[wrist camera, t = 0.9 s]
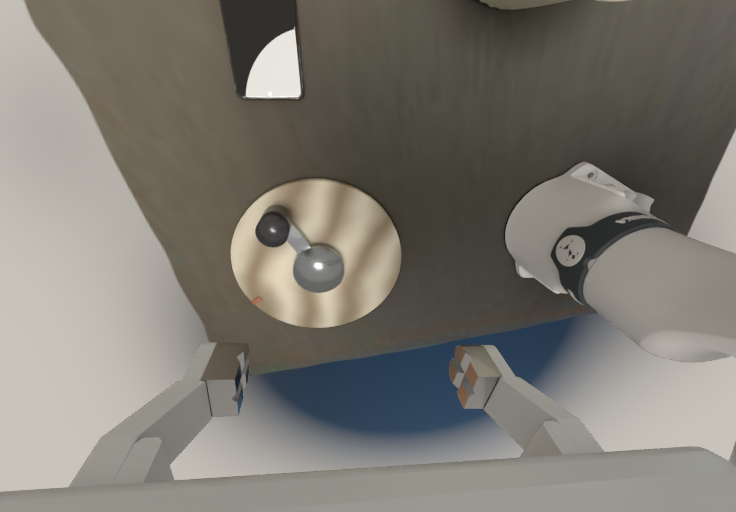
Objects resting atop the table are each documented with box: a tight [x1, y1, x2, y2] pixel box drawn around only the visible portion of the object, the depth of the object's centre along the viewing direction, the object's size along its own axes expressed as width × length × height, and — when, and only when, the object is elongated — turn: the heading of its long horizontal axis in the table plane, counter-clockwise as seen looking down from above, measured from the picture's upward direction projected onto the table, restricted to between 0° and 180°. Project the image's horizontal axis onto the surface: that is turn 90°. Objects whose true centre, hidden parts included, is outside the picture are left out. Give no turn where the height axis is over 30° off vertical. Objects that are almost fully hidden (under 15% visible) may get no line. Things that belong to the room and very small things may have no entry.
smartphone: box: [219, 0, 304, 100], centre depth 30 cm, size 7×1×16 cm
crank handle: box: [255, 205, 344, 293], centre depth 38 cm, size 14×7×6 cm, turn 30°
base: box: [231, 178, 401, 328], centre depth 43 cm, size 24×24×2 cm
